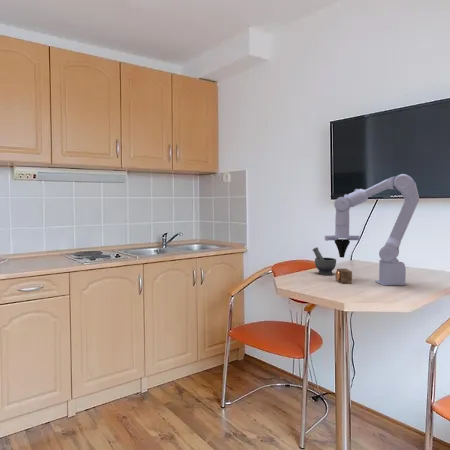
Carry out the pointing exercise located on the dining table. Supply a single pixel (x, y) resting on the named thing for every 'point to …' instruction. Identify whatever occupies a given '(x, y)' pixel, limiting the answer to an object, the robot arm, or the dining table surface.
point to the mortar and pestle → (324, 263)
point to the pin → (338, 275)
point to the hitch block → (345, 276)
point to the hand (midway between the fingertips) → (341, 257)
